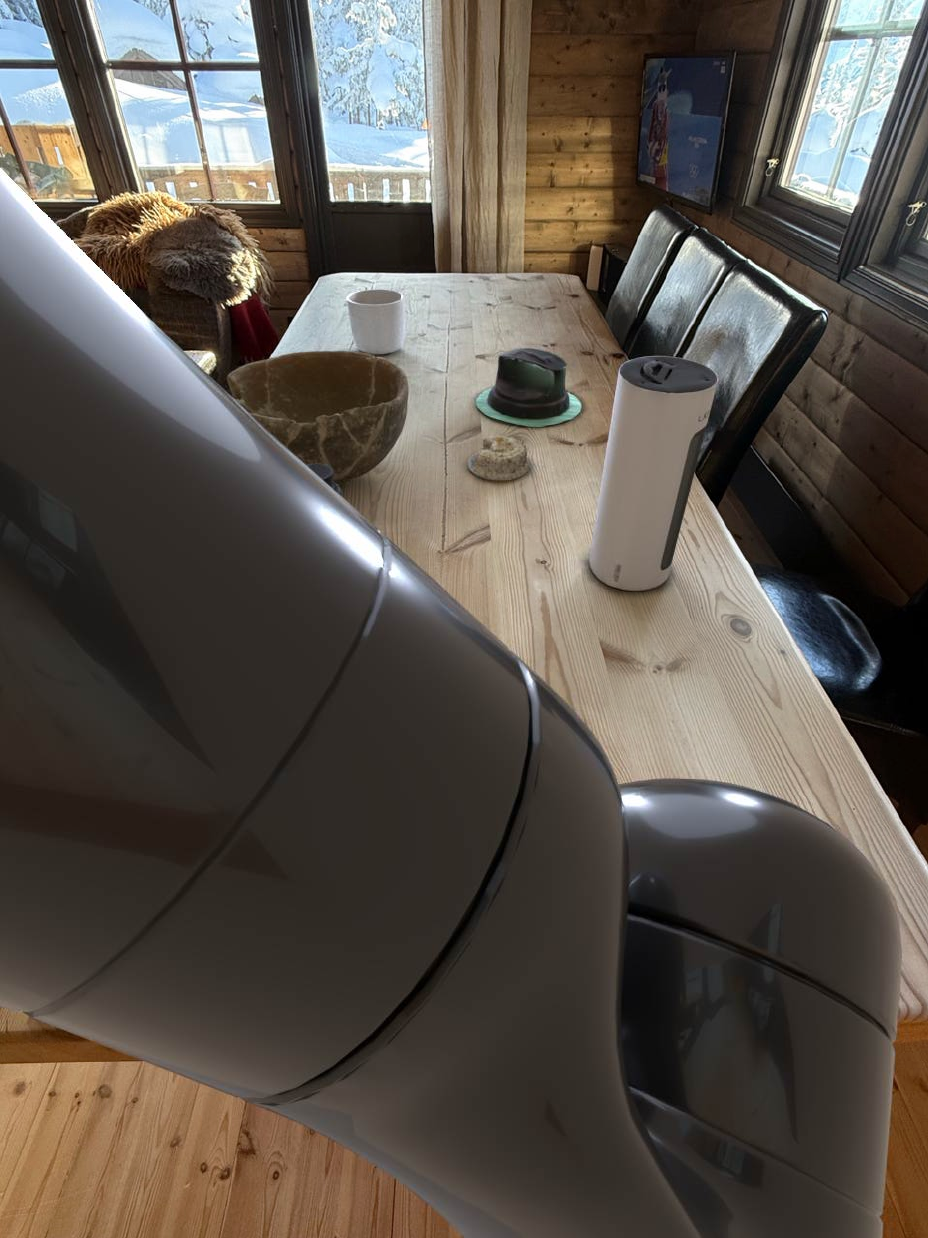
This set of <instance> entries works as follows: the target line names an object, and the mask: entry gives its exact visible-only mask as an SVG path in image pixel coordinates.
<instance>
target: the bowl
mask: <svg viewBox="0 0 928 1238" xmlns="http://www.w3.org/2000/svg"><path fill="white" fill-rule="evenodd" d="M226 380H227V384H228V386H229V390H230V392H231V397H233V398H234V399H235V400H236V401H237V402H238V403H239V404H240V405H241V406H242V407H243V408H244V409H245V410H246V411H247V412H248V413H249V414H250V415H252V416H253V417H254V418H255V419H256V420H257V421H258V422H259V423H260V424H261V425H262V426H263V427H264V428H265V429H266V430H267V431H268V432H270V433H271V434H272V435H273V436H274V437H275V438H276V439H277V440H279V441H280V442H281V443H282V444H283V445H284V446H285V447H286V448H288V449H289V450H290V451H291V452H292V453H293V454H294V455H295V456H297V457H298V458H299V459H300V460H301V461H302V462H303V463H304V464H306V465H308V464H313V463H321V464H326V465H328V466H330V467H331V468H332V469H333V473H334V481H333V482H335V483H336V484H337V483H343V482H347V481H351V480H355V479H357V478H360V477H363V476H364V475H366V474H368V473H369V472H371V471H372V470H373V469H375V468H376V467H377V466H379V465H380V464H381V463H382V461H384V459H386V458H387V456H388V455H389V454H390V452H391V451H392V449H394V447H395V445H396V443H397V442H398V440H399V439H400V437H401V435H402V433H403V430H404V428H405V424H406V420H407V416H408V415H407V414H408V401H409V393H410V391H409V390H410V388H409V381H408V377H407V375H406V373H405V371H404V370H403V368H401V367H400V366H398V365H397V364H396V363H394V362H392V361H390V360H389V359H387V358H385V357H381V356H376V357H375V354H369V353H365V352H362V351H351V350H333V351H332V350H310V351H300V352H298V351H297V352H292V353H286V354H281V355H278V356H274V357H269V358H267V359H262V360H257V361H253V362H250V363H247V364H244V365H242V366H239V367H238V368H236V369H235V370H232V371H231V372H229V374H228V375H227V376H226Z"/></svg>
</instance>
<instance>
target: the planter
mask: <svg viewBox="0 0 928 1238" xmlns="http://www.w3.org/2000/svg"><path fill="white" fill-rule="evenodd" d="M405 301H406V299H405V295H404V293H402V292H399V291H398V290H397V291H396V290H393V289H385V288H384V289H383V288H375V289H372V288H371V289H363V290H359V291H355V292H352V293H350V294H348V296H347V297H346V303H347V304H346V305H347V310H348V318H349V326H350V330H351V337H352V341H353V342H354V345H355V347H356V348H357V349H358V350H359V351H360V352H362V353H365V354H370V355H387V354H392V353H395V352H397V351H398V350H400V349H401V348H402V347H403V345H404V343H405V337H406V302H405Z"/></svg>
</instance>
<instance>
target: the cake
mask: <svg viewBox="0 0 928 1238" xmlns="http://www.w3.org/2000/svg"><path fill="white" fill-rule="evenodd" d="M480 449H481V450H480V451H477V452H475V453H473V454H472V455H470V457H469V458H468V460H467V467H468V469H469V471H471V472H472V473H474V475H476V476H478V477H480V478H483V479H486V480H490V481H500V482H503V481H504V482H505V481H506V482H507V481H511V480H516V479H518V478H521V477H523V476H524V475H525V474H527V472H528V471H529V469H530V467H529V463H528V458H527V457H528V453H527V450H528V448H527V446H526V445H525V443H524V441H520V440H519V439H518V438H517V439H515V438H514V437H513V436H508V435H495V434H494V435H487V436H485V437H483V438H482V447H481V448H480Z"/></svg>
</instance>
